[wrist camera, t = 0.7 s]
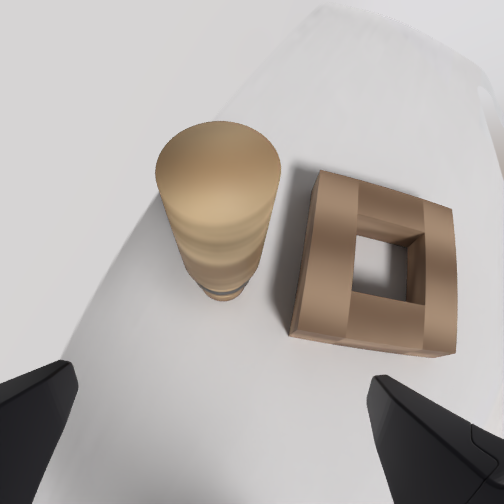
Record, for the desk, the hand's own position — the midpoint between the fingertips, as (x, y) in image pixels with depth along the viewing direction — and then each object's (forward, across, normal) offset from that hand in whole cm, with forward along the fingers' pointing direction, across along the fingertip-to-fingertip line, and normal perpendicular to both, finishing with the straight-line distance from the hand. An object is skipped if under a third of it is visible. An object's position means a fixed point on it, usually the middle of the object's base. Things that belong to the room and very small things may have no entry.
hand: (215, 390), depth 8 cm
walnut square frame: (+16, -11, +1) cm, 19 cm away
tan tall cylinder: (+15, +1, +2) cm, 15 cm away
